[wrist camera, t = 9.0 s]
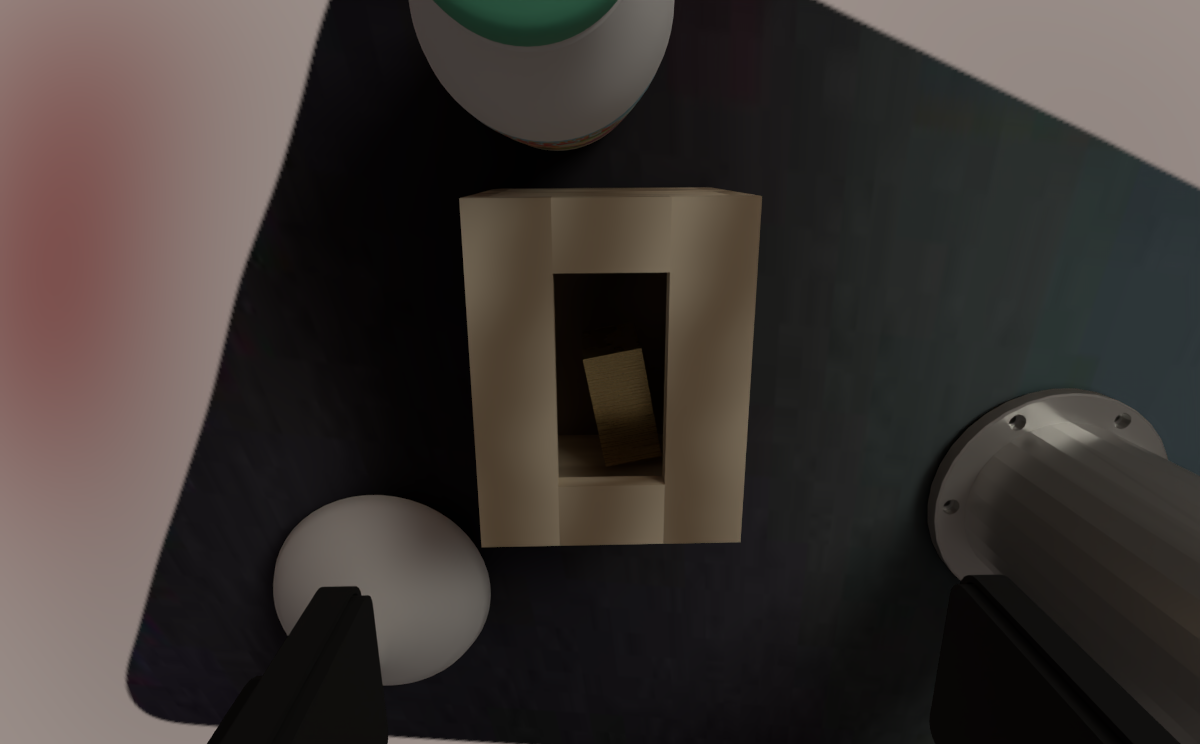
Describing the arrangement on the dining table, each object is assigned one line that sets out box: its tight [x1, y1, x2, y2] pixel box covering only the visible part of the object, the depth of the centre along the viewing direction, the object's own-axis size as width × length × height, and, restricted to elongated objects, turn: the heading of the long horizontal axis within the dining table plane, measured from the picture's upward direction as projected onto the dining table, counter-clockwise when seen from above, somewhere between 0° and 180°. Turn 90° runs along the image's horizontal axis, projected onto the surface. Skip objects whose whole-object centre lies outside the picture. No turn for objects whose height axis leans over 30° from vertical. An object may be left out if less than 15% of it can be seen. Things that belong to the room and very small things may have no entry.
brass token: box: [582, 322, 662, 467], centre depth 31 cm, size 2×5×5 cm
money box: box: [459, 187, 762, 547], centre depth 29 cm, size 10×13×10 cm
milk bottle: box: [409, 0, 674, 151], centre depth 21 cm, size 8×8×20 cm
